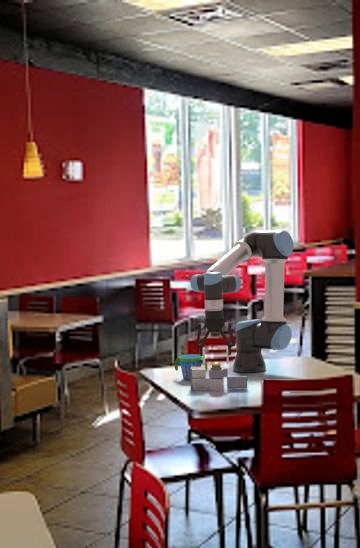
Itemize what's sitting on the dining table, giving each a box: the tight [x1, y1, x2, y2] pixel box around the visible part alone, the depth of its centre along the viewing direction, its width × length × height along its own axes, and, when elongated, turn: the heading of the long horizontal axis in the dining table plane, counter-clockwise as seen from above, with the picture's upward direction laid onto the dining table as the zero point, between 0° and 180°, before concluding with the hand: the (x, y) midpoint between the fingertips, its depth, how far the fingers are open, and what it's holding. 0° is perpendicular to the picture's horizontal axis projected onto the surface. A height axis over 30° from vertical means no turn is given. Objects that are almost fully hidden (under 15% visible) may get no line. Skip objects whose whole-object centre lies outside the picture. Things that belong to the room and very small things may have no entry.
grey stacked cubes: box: [208, 367, 248, 390], centre depth 343 cm, size 16×6×8 cm, turn 87°
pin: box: [211, 361, 222, 379], centre depth 343 cm, size 4×4×11 cm
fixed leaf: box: [192, 369, 225, 392], centre depth 344 cm, size 6×13×9 cm, turn 86°
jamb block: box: [190, 366, 205, 391], centre depth 347 cm, size 5×6×9 cm
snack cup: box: [174, 353, 209, 381], centre depth 368 cm, size 16×10×10 cm
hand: (215, 363), depth 343 cm, fingers open, 9 cm apart
